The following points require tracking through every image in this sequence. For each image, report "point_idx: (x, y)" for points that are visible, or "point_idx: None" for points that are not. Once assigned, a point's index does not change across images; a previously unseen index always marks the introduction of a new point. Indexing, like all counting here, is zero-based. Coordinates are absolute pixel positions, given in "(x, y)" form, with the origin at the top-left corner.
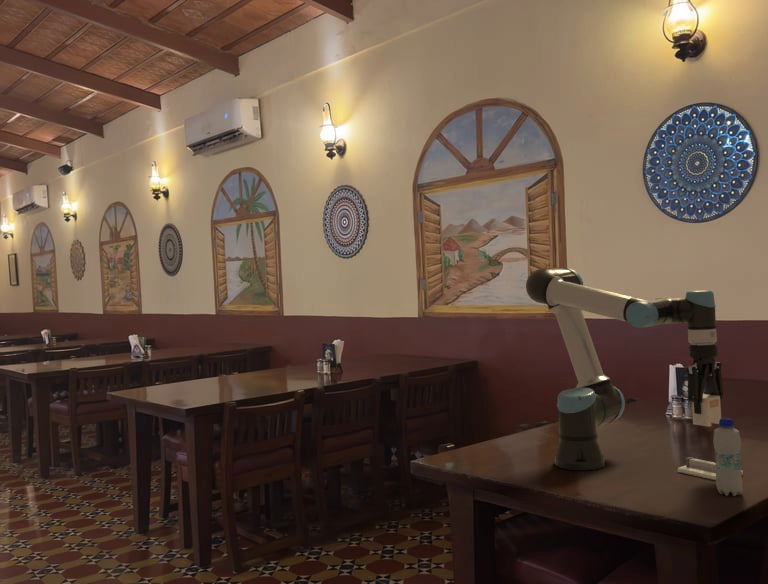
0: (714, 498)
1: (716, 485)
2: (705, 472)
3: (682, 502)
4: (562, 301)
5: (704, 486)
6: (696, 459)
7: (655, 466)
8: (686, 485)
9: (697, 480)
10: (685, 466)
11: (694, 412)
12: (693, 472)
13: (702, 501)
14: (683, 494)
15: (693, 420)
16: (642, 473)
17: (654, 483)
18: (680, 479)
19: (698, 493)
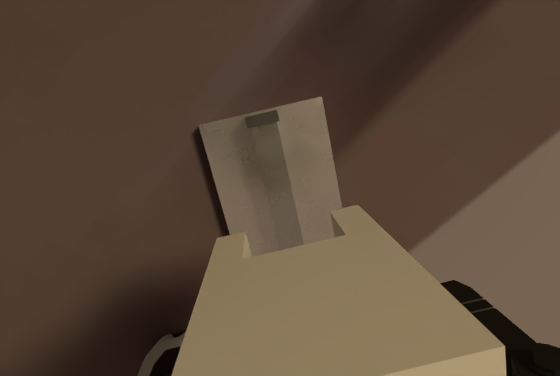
0: (120, 364)
1: (146, 355)
2: (240, 215)
3: (20, 357)
4: None
5: (168, 281)
6: (273, 145)
7: (178, 17)
8: (126, 252)
9: (191, 228)
10: (235, 125)
11: (158, 358)
12: (216, 185)
13: (75, 369)
14: (64, 310)
15: (213, 254)
16: (74, 73)
17: (45, 192)
18: (151, 196)
19: (109, 320)
